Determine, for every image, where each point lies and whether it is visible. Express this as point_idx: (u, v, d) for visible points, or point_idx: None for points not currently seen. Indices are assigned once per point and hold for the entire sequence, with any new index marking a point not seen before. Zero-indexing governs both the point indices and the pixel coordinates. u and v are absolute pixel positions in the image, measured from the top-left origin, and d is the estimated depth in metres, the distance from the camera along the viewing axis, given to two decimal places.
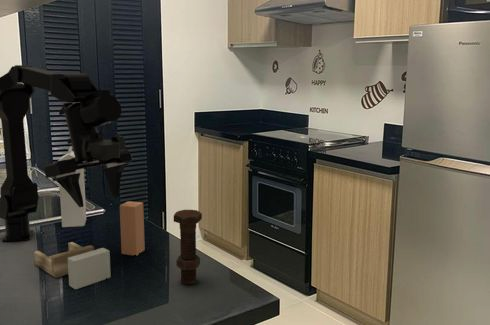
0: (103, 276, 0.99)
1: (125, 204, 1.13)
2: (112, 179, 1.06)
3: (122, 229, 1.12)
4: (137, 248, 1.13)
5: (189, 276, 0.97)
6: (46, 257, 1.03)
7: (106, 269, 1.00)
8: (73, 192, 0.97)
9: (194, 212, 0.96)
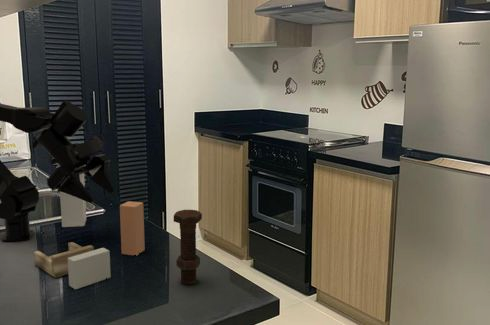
0: (103, 276, 0.99)
1: (125, 204, 1.13)
2: (102, 180, 1.19)
3: (122, 229, 1.12)
4: (137, 248, 1.13)
5: (189, 276, 0.97)
6: (46, 257, 1.03)
7: (106, 269, 1.00)
8: (80, 192, 1.09)
9: (194, 212, 0.96)
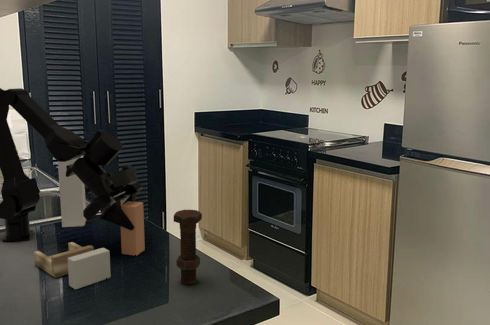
0: (103, 276, 0.99)
1: (125, 204, 1.13)
2: None
3: (122, 229, 1.12)
4: (137, 248, 1.13)
5: (189, 276, 0.97)
6: (46, 257, 1.03)
7: (106, 269, 1.00)
8: (121, 219, 1.10)
9: (194, 212, 0.96)
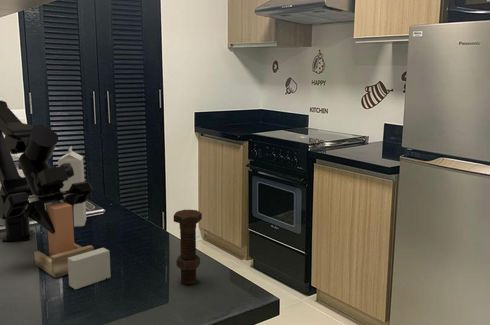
0: (103, 276, 0.99)
1: (54, 204, 1.05)
2: None
3: (48, 231, 1.05)
4: None
5: (189, 276, 0.97)
6: (46, 257, 1.03)
7: (106, 269, 1.00)
8: (43, 220, 1.03)
9: (194, 212, 0.96)
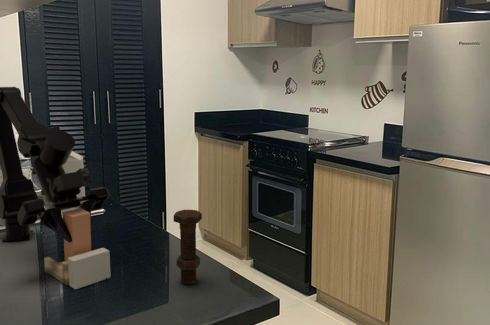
0: (103, 276, 0.99)
1: (70, 211, 0.99)
2: None
3: None
4: None
5: (189, 276, 0.97)
6: (57, 263, 1.00)
7: (106, 269, 1.00)
8: (59, 228, 0.98)
9: (194, 212, 0.96)
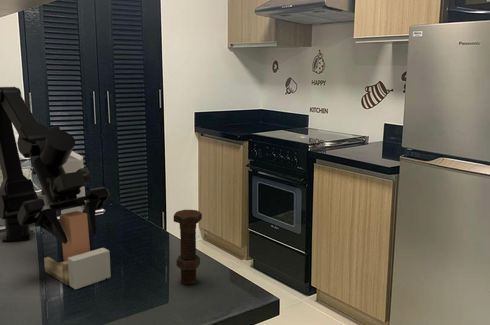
0: (103, 276, 0.99)
1: (67, 214, 1.00)
2: (87, 219, 1.03)
3: None
4: None
5: (189, 276, 0.97)
6: (57, 263, 1.00)
7: (106, 269, 1.00)
8: (54, 230, 0.97)
9: (194, 212, 0.96)
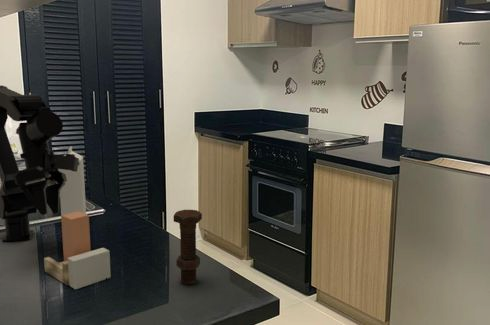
0: (103, 276, 0.99)
1: (69, 214, 1.00)
2: (52, 196, 1.13)
3: (64, 242, 1.00)
4: None
5: (189, 276, 0.97)
6: (57, 263, 1.00)
7: (106, 269, 1.00)
8: (40, 199, 1.03)
9: (194, 212, 0.96)
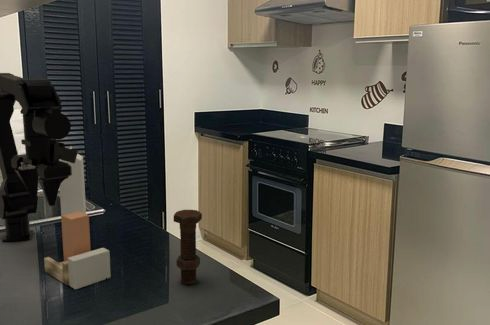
0: (103, 276, 0.99)
1: (69, 214, 1.00)
2: (32, 181, 1.13)
3: (64, 242, 1.00)
4: None
5: (189, 276, 0.97)
6: (57, 263, 1.00)
7: (106, 269, 1.00)
8: (53, 192, 1.06)
9: (194, 212, 0.96)
